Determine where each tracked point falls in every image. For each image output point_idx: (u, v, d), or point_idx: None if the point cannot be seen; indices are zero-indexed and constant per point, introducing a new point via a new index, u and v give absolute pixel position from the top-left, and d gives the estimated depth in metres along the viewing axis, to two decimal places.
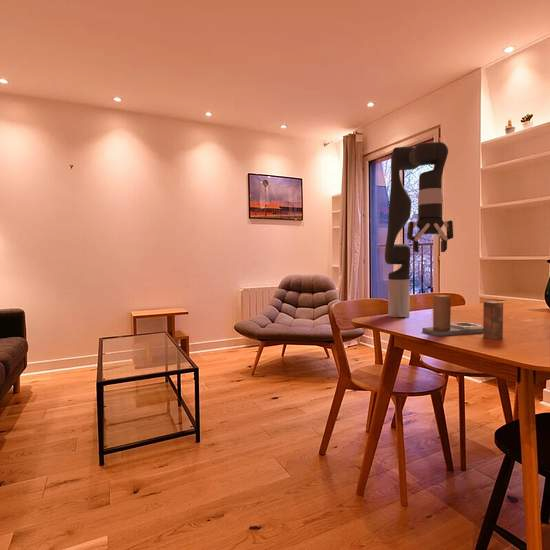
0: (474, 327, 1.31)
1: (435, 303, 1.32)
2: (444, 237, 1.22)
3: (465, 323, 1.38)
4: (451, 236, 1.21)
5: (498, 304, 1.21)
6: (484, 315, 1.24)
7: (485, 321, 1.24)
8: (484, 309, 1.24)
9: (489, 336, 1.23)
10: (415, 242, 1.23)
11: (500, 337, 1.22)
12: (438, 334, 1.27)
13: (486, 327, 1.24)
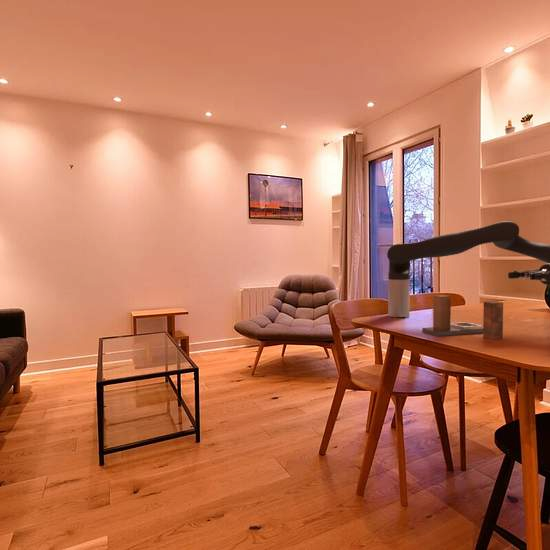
0: (474, 327, 1.31)
1: (435, 303, 1.32)
2: None
3: (465, 323, 1.38)
4: None
5: (498, 304, 1.21)
6: (484, 315, 1.24)
7: (485, 321, 1.24)
8: (484, 309, 1.24)
9: (489, 336, 1.23)
10: (541, 278, 1.21)
11: (500, 337, 1.22)
12: (438, 334, 1.27)
13: (486, 327, 1.24)
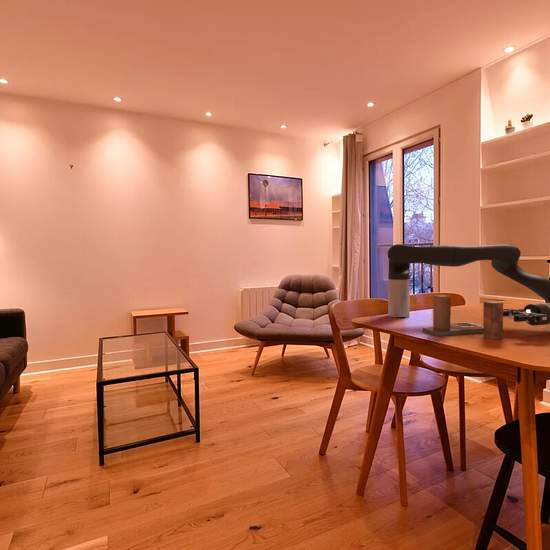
0: (474, 327, 1.31)
1: (435, 303, 1.32)
2: None
3: (465, 323, 1.38)
4: None
5: (498, 304, 1.21)
6: (484, 315, 1.24)
7: (485, 321, 1.24)
8: (484, 309, 1.24)
9: (489, 336, 1.23)
10: (524, 320, 1.21)
11: (500, 337, 1.22)
12: (438, 334, 1.27)
13: (486, 327, 1.24)
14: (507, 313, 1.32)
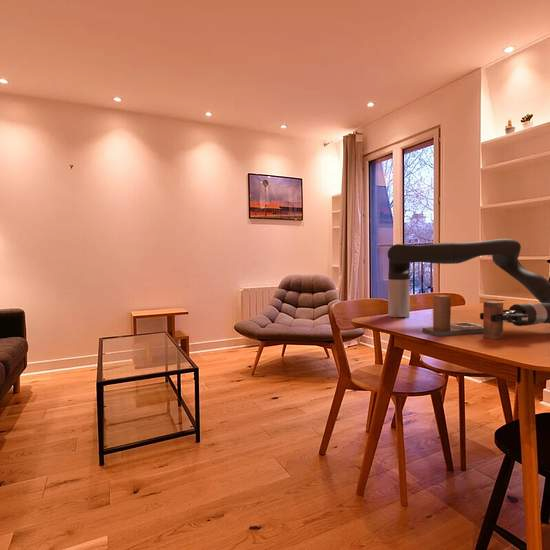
0: (474, 327, 1.31)
1: (435, 303, 1.32)
2: None
3: (465, 323, 1.38)
4: None
5: (498, 304, 1.21)
6: (484, 315, 1.24)
7: (485, 321, 1.24)
8: (484, 309, 1.24)
9: (489, 336, 1.23)
10: None
11: (500, 337, 1.22)
12: (438, 334, 1.27)
13: (486, 327, 1.24)
14: None
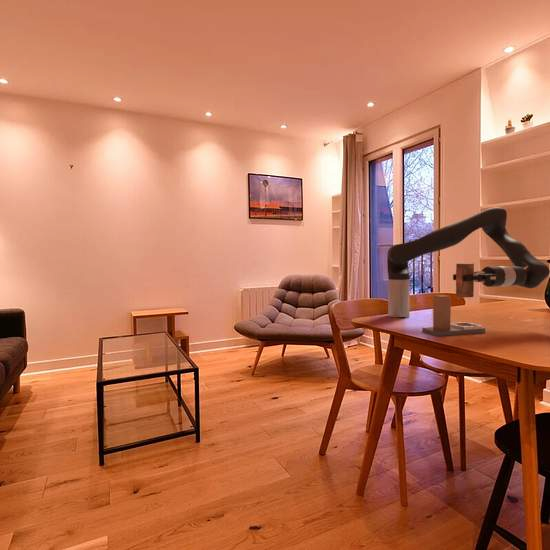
0: (474, 327, 1.31)
1: (435, 303, 1.32)
2: None
3: (465, 323, 1.38)
4: None
5: (469, 265, 1.31)
6: (456, 276, 1.34)
7: (457, 281, 1.33)
8: (456, 270, 1.33)
9: (461, 295, 1.32)
10: (472, 279, 1.30)
11: (471, 296, 1.32)
12: (438, 334, 1.27)
13: (458, 287, 1.33)
14: None
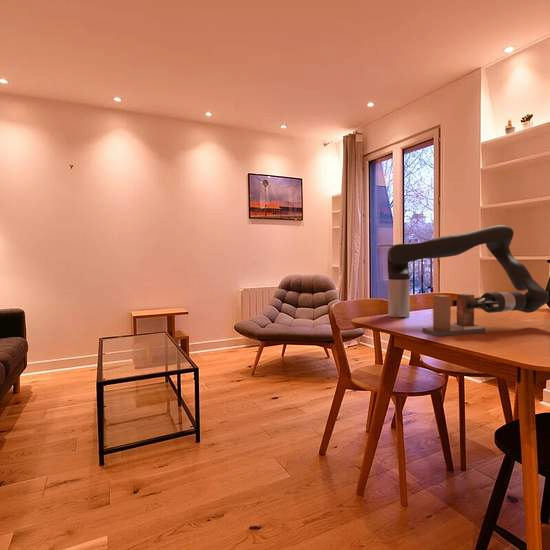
0: (474, 327, 1.31)
1: (435, 303, 1.32)
2: None
3: None
4: None
5: (469, 296, 1.32)
6: (457, 306, 1.35)
7: (458, 312, 1.34)
8: (457, 301, 1.34)
9: None
10: None
11: None
12: (438, 334, 1.27)
13: (459, 318, 1.34)
14: None
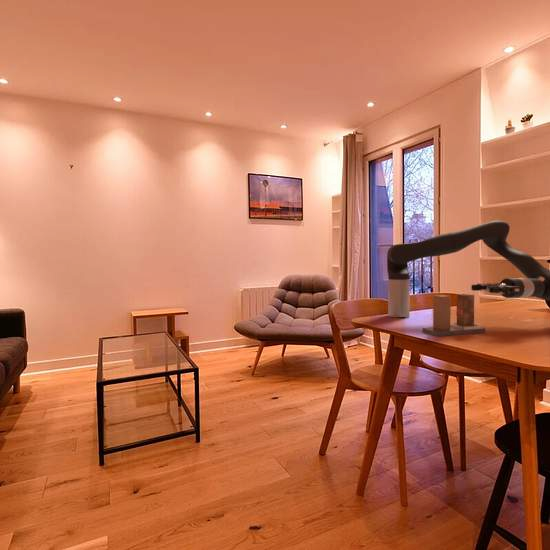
0: (474, 327, 1.31)
1: (435, 303, 1.32)
2: (482, 290, 1.42)
3: None
4: None
5: (469, 296, 1.32)
6: (457, 306, 1.35)
7: (458, 312, 1.34)
8: (457, 301, 1.34)
9: None
10: (499, 291, 1.32)
11: None
12: (438, 334, 1.27)
13: (459, 318, 1.35)
14: (485, 287, 1.43)
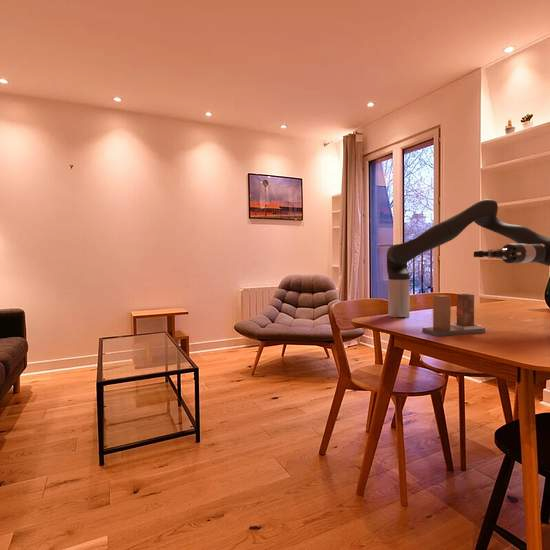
0: (474, 327, 1.31)
1: (435, 303, 1.32)
2: None
3: None
4: (480, 257, 1.45)
5: (469, 296, 1.32)
6: (457, 306, 1.35)
7: (458, 312, 1.34)
8: (457, 301, 1.34)
9: None
10: (501, 255, 1.34)
11: None
12: (438, 334, 1.27)
13: (459, 318, 1.35)
14: (487, 254, 1.45)
